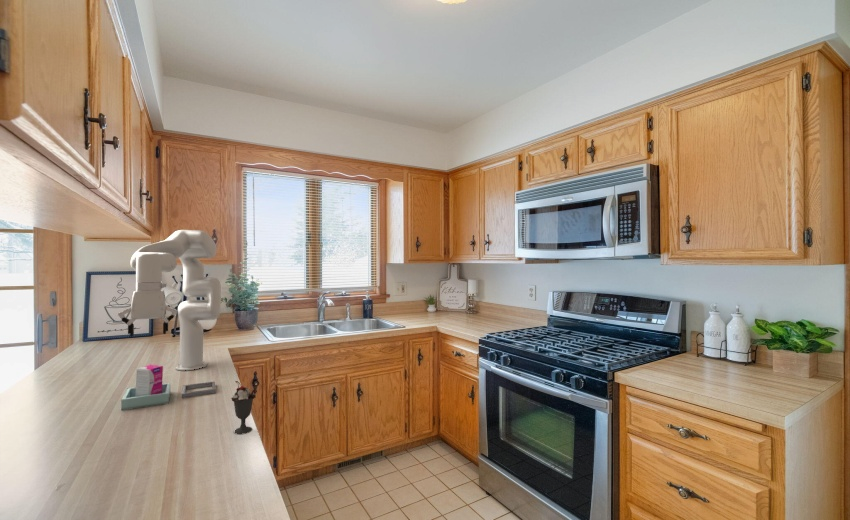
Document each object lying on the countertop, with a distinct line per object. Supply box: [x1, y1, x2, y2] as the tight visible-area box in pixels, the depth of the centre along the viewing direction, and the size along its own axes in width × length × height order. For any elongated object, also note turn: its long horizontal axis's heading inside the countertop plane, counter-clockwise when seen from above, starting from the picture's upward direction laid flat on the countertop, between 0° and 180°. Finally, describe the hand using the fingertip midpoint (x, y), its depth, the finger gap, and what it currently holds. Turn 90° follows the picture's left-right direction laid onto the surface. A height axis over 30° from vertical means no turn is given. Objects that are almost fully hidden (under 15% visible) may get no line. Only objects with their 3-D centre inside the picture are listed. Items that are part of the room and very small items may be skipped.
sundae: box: [230, 380, 256, 435], centre depth 116 cm, size 7×7×15 cm
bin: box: [120, 382, 172, 411], centre depth 139 cm, size 13×13×4 cm
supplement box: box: [135, 364, 164, 397], centre depth 140 cm, size 6×6×12 cm
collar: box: [181, 381, 217, 399], centre depth 150 cm, size 11×11×2 cm
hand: (148, 334), depth 140 cm, fingers open, 9 cm apart
